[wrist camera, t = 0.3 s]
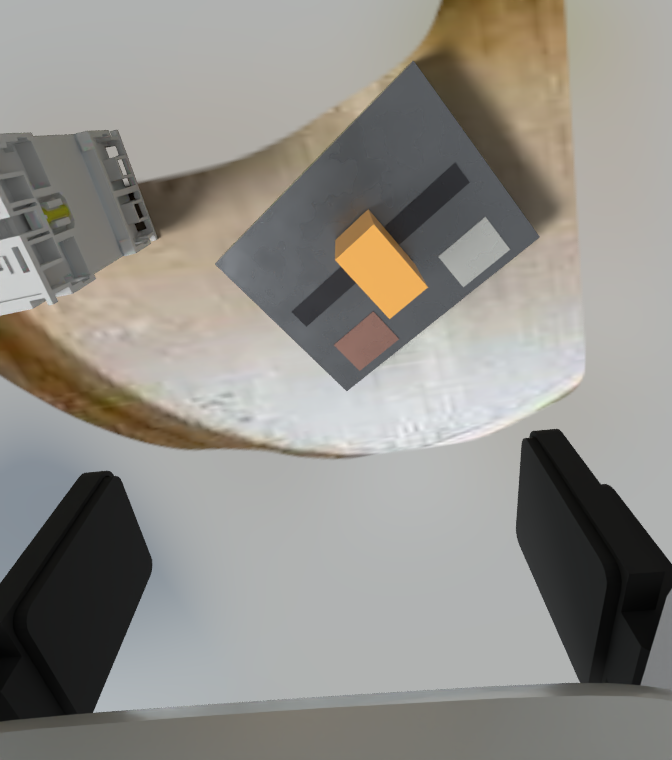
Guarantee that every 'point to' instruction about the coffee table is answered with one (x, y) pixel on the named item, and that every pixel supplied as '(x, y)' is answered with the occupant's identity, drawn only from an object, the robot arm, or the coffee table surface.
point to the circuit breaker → (63, 214)
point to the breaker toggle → (378, 264)
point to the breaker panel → (395, 213)
